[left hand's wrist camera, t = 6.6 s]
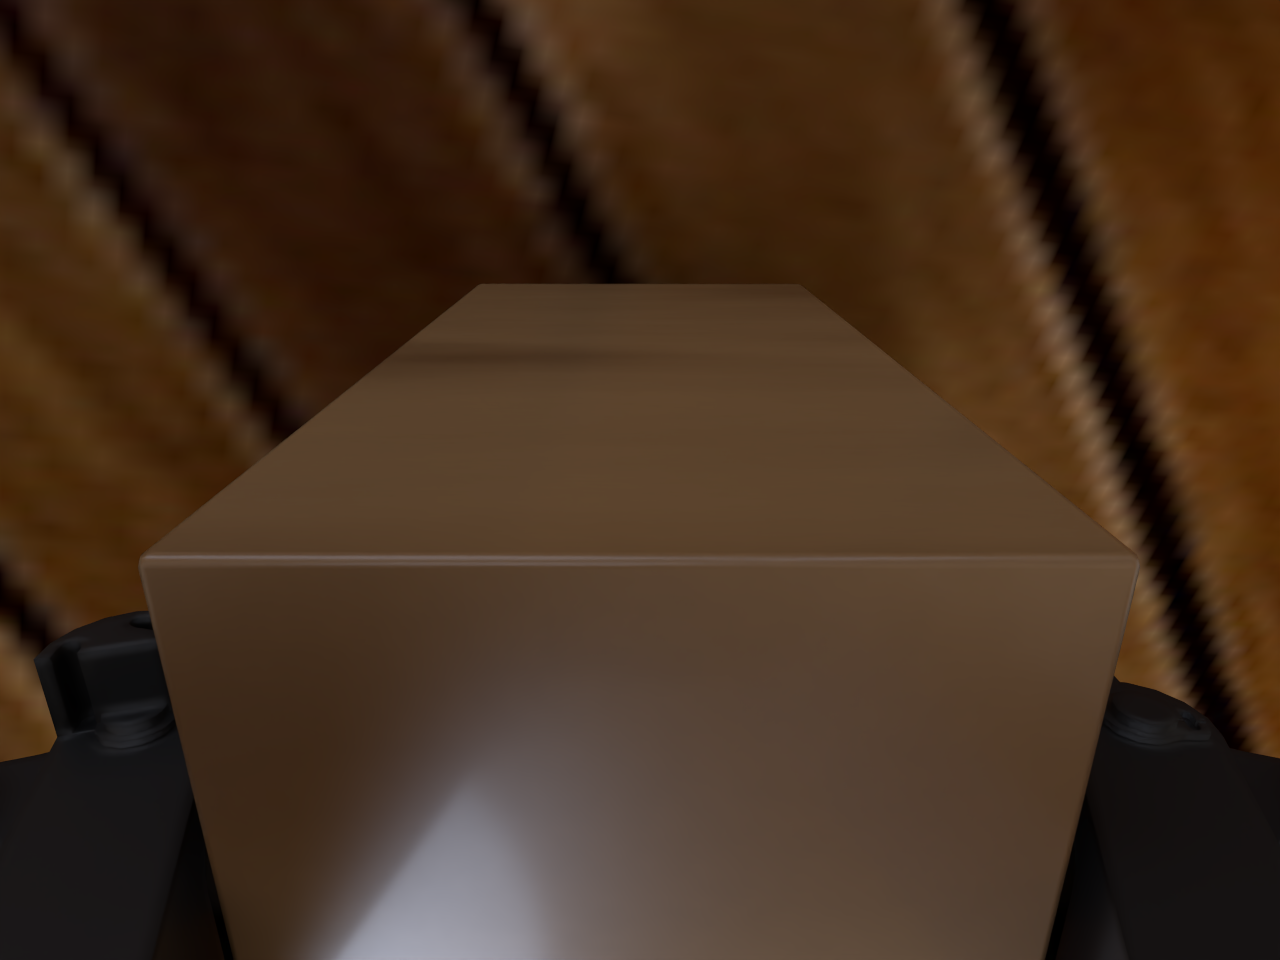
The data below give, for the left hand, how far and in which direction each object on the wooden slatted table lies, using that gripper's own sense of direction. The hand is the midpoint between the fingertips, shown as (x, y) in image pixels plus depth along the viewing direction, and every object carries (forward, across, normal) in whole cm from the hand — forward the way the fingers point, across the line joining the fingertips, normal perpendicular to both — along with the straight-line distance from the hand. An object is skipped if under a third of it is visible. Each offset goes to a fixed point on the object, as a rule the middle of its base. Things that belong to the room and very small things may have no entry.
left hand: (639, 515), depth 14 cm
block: (+3, 0, 0) cm, 3 cm away
